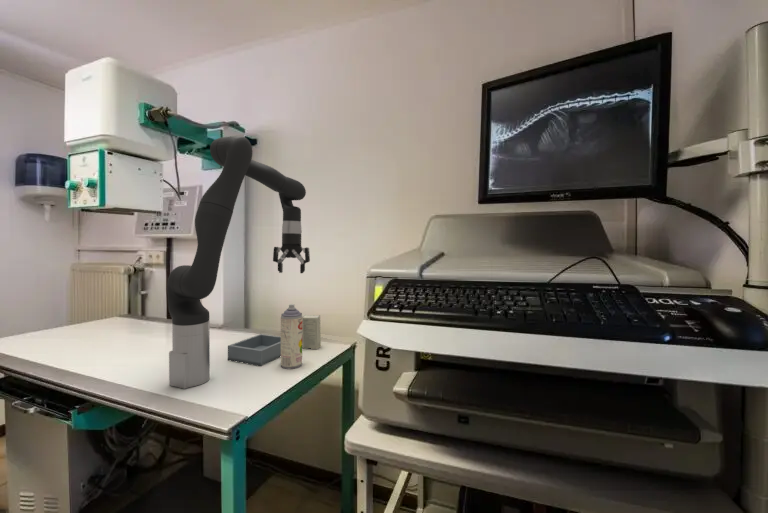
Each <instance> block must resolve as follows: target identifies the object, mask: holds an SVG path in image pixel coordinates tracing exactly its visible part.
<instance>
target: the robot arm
mask: <svg viewBox="0 0 768 513" xmlns="http://www.w3.org/2000/svg"><path fill="white" fill-rule="evenodd" d="M209 151H210V156H211V158H212V159H213V160H214V162H215V163H216V164H218V165H219V166H220V167H222V170H221V172H220V173H219V174H220V175H218V177H217V178H216V179H215V180H214V182H213V183H212V184H211V185H210V186H209V187H208V188H207V190H206V191H205V192H204V194H203V195H202V197H201V198H200V201H199V204H198V207H197V210H196V213H195V217H194V229H195V233H196V234H195V235H196V241H197V247H196V252H195V254H194V258H193V261H192V264H191V265H190V264H189V265H187V264H186V265H185V264H184V265H178V266H177V267H175V268H174V269H172V270H171V272H170V274H169V276H168V278H167V284H166V285H167V286H166V287H167V288H166V290H167V305H168V312H169V315H170V317H171V323H172V328H171V329H172V331H171V332H172V346H171V347H172V350H170V351H169V353H168V374H169V376H168V382H169V383H168V384H169V386H172V387H175V388H181V389H183V390H184V389H188V388H192V387H196V386H200V385H203V384H205V383H207V382H209V380H210V374H211V373H210V372H211V370H210V369H211V366H210V364H211V362H210V359H211V358H210V357H211V356H210V352H211V351H210V350H211V349H210V348H211V347H210V344H211V343H210V342H211V340H210V338H211V337H210V327H211V326H210V311H209V309H207V308H206V307H205V306H204V305H203V304H202V302H201V300H203V299H206V298H207V297H208V296H210V295H211V293H212V292H213V291H214V288H215V286H216V282H217V277H218V272H219V265H220V261H221V255H222V252H223V247H224V243H225V240H226V237H227V236H226V235H227V232H228V230H229V227H230V223H231V220H232V217H233V213H234V209H235V206H236V202H237V199H238V196H239V193H240V190H241V186H242V183H243V182H244V180H245V176H246V177H248V178H251V179H252V180H254V181H256V182H258V183H260V184H261V185H264V186H266V187H267V188H268V189H270V190H272V191H273V192H276V193H278V198H279V201H280V205H281V209H282V225H281V232H282V233H281V246H280V247H279V246H274V247H273V253H272V254H273V255H272V256H273V257H272V261H273V262H275V263H277V271H278V273H279V274H283V269H284V268H283V266H284V265H283V262H284V260H286V259H287V258H288V259H290V258H292V259H297V261H298V262H300V264H299V265H300V266H299V268H300V270H299V272H300V274H304V272H305V271H306V263H307V264H308V263H310V261H311V259H310V257H311V256H310V248H309V247H302V231H303V230H302V212H301V211H302V209H301V208H300V206H299V207H298V206H295V205H294V203H293V201H301V200H303V199H304V198H305V196H306V194H307V190H306V188H305V186H304V184H303V183H301V182H300V181H299V180H296V179H294V178H292V177H289V176H286V175H284V174H283V173H282V172H280V171H278V170H277V169H275V168H274V167H272V166H269V165H268V164H267V165H266V164H264V163H262V162H259V161H256V160H253V147H252V144H251V142H250V140H249V139H248V138H247V137H245V136H242V135H231V136H221V137H217V138H216V139H213V141H212V142H211V143H210V147H209ZM280 252H282V254H281V256H280V258H279V253H280ZM302 252H303V254H304V257H303V256H302V254H301V253H302ZM304 258H305V259H304Z"/></svg>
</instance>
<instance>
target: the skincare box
mask: <svg viewBox="0 0 768 513" xmlns="http://www.w3.org/2000/svg"><path fill="white" fill-rule="evenodd" d="M321 334H322V333H321V315H315V314H310V315H309V314H305V315H304V316H303V315H302V348H311V349H310V350H319V348H320V347H321V346H322V344H321V343H322V342H321V339H322V338H321Z"/></svg>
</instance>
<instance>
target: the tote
mask: <svg viewBox="0 0 768 513" xmlns="http://www.w3.org/2000/svg"><path fill="white" fill-rule="evenodd" d="M280 356H281V336H280V335H279V336H278V335H271V334H265V333H264V334H262V333H260V334H257V335H254V336H251V337H249V338H246V339H245V338H244V339H243V340H239V341H237V342H234V343H231V344H229V345H227V361H229V360H231V361H230V362H235V361H237V362H236V363H240V362H243V363H242V364H246V363H248V364H247V365H251V364H253V365H252V366H257V365H258V367H262V366H264V365H267V364H269V363H271V362H273V361H275V360H277V359H279V358H281V357H280ZM276 358H277V359H276Z"/></svg>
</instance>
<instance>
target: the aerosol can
mask: <svg viewBox="0 0 768 513" xmlns="http://www.w3.org/2000/svg"><path fill="white" fill-rule="evenodd" d="M280 315H281V316H280V337H281V357H280V368H281V369H284V370H285V369H286V370H293V369H298V368H301V367H302V366H303V349H302V317H303V313H302V312H300V311H299V309H297V308H296V307H295V304H293V303H290V304H289V305H288V308H286V310H284V312H283V313H281V314H280Z"/></svg>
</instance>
